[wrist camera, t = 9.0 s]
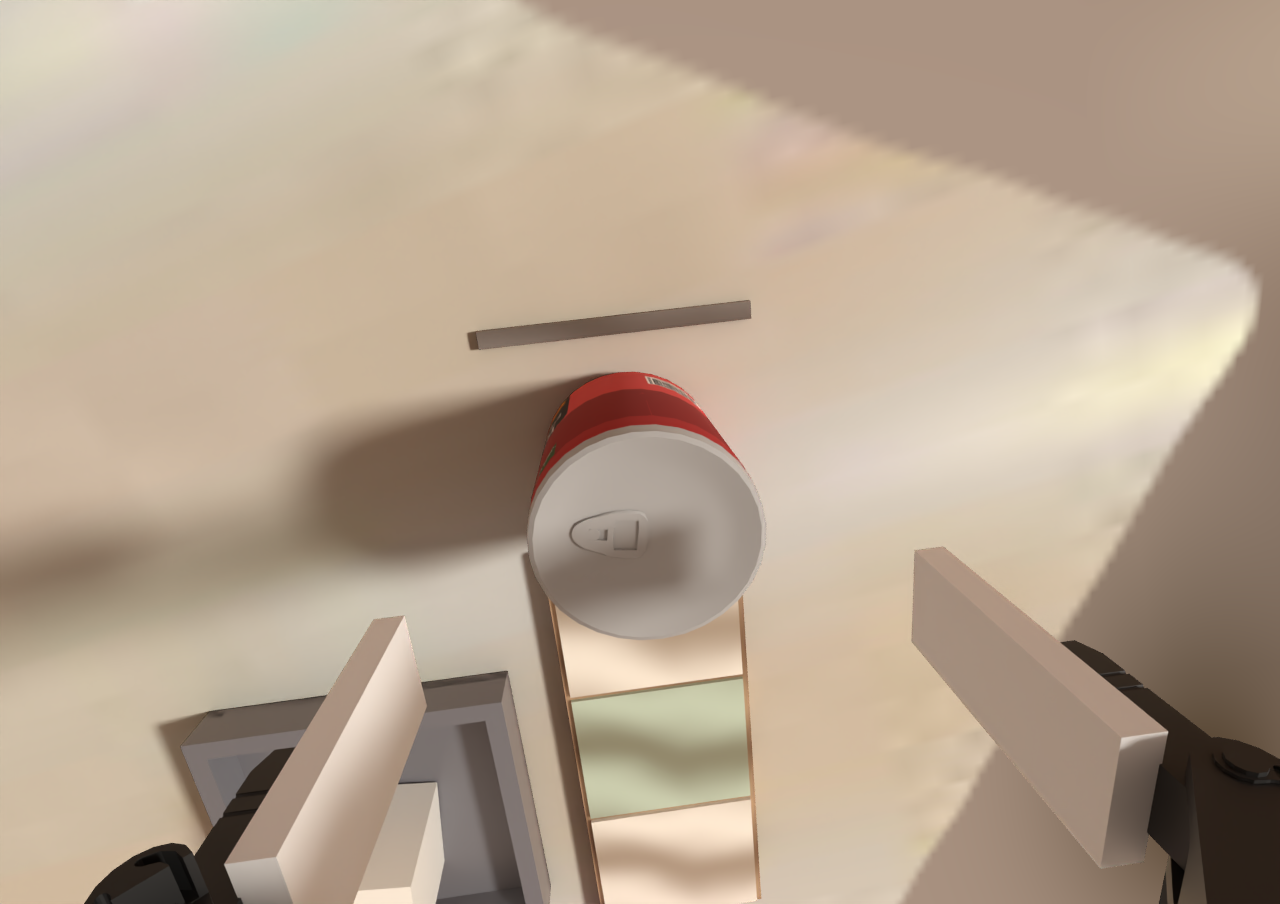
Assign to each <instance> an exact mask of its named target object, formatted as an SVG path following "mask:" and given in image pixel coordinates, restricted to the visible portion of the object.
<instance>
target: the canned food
mask: <svg viewBox="0 0 1280 904" xmlns="http://www.w3.org/2000/svg"><path fill="white" fill-rule="evenodd" d="M527 543H528V553H529V560H530V563H531V566H532V569H533V572H534V575H535V578H536V579H537V581H538V583H539V584H540V586H541V588H542V589H543V591H544V593H545V594H546V596H547V597H548V598H549V599H550V600H551V601H552V602H553V603H554V604H555V605H556V606H557V608H558V609H559V610H560V611H562V612H563V613H564V614H566V615H567V616H568V617H570V618H571V619H573V620H574V621H575V622H577V623H578V624H581V625H583V626H585V627H587V628H589V629H591V630H593V631H596V632H598V633H602V634H605V635H609V636H613V637H616V638H623V639H633V640H652V639H664V638H668V637H673V636H677V635H681V634H685V633H687V632H690V631H692V630H695V629H697V628H700V627H702V626H704V625H706V624H708V623H709V622H711V621H713V620H714V619H716V618H717V617H719V616H721V615H722V614H724V613H725V612H726V611H727V610H728V609H729V608H730V607H731V606H732V605H734V604H735V603H736V602H737V601H738V600H739V599H740V598H741V596H742V595H743V594H744V592H745V591H746V590H747V588H748V587H749V586H750V584H751V583H752V581H753V579H754V577H755V575H756V573H757V571H758V569H759V567H760V565H761V562H762V558H763V554H764V550H765V546H766V520H765V515H764V510H763V505H762V502H761V500H760V497H759V494H758V492H757V490H756V488H755V485H754V483H753V481H752V479H751V477H750V476H749V474H748V473H747V472H746V470H745V468H744V466H743V465H742V464H741V462H740V461H739V460H738V458H737V457H736V456H735V454H734V453H733V452H732V450H731V449H730V448H729V446H728V445H727V443H726V442H725V441H724V439H723V438H722V437H721V435H720V434H719V433H718V431H717V430H716V429H715V427H714V426H713V425H712V423H711V422H710V421H709V419H708V418H707V417H706V415H705V414H704V413H703V411H702V410H701V409H700V407H699V406H698V404H697V403H696V402H695V400H694V399H693V398H692V397H691V396H690V395H689V394H687V393H686V392H685V391H684V390H683V389H682V388H681V387H679V386H677V385H675V384H674V383H672V382H670V381H669V380H667V379H664V378H661V377H658V376H655V375H652V374H646V373H640V372H618V373H614V374H610V375H605V376H601V377H599V378H597V379H594V380H592V381H590V382H588V383H586V384H584V385H583V386H581V387H580V388H579V389H577V390H576V391H574V392H573V393H572V394H571V395H570V396H569V397H568V398H567V399H566V400H565V401H564V402H563V403H562V405H561V406H560V408H559V409H558V411H557V413H556V414H555V416H554V417H553V420H552V423H551V426H550V428H549V431H548V435H547V439H546V443H545V447H544V451H543V454H542V458H541V462H540V466H539V470H538V474H537V478H536V482H535V486H534V490H533V494H532V498H531V505H530V509H529V516H528V524H527Z"/></svg>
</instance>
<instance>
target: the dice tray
mask: <svg viewBox="0 0 1280 904" xmlns="http://www.w3.org/2000/svg"><path fill="white" fill-rule="evenodd" d="M421 684H422V688H423V692H424V696H425V700H426V704H427V707H426V710H425V713H424V715H423V718H422V721H421V723H420V726H419V729H418V731H417V734H416V737H415V739H414V742H413V745H412V748H411V750H410V753H409V756H408V758H407V761H406V764H405V766H404V769H403V772H402V774H401V777H400V780H399V782H398V784H416V783H433V782H437V787H438V798H439V808H440V818H441V829H442V839H443V850H444V860H445V861H444V866H443V870H442V875H441V880H440V885H439V890H438V895H437V899H436V904H550V889H551V884H550V879H549V874H548V869H547V864H546V859H545V854H544V849H543V844H542V839H541V834H540V829H539V825H538V820H537V815H536V810H535V805H534V800H533V795H532V790H531V785H530V780H529V775H528V770H527V765H526V760H525V755H524V750H523V745H522V740H521V735H520V730H519V725H518V720H517V715H516V710H515V705H514V700H513V695H512V690H511V686H510V681H509V676H508V671H504V672H497V673H490V674H482V675H475V676H468V677H460V678H453V679H446V680H438V681H431V682H423V683H421ZM326 697H327V696H320V697H313V698H306V699H298V700H291V701H284V702H276V703H269V704H262V705H254V706H247V707H240V708H232V709H225V710H218V711H210V712H208V714H207V715H206V716H205V717H204V718H203V720H202V721H201V722H200V723H199V724H198V726H197V727H196V728H195V729H194V730H193V732H192V733H191V734H190V735H189V736H188V738H187V739H186V740H185V741H184V742H183V744H182V745H181V746H180V748H181V750H182V752H183V755H184V757H185V760H186V762H187V765H188V767H189V769H190V772H191V774H192V777H193V779H194V782H195V784H196V786H197V789H198V791H199V794H200V796H201V799H202V801H203V803H204V806H205V808H206V811H207V813H208V816H209V818H210V820H211V823H212V825H213V827H214V826H215V824H216V823H217V821H218V820H219V818H222V817H223V812H224V811H225V809H226V808H227V806H228V805H229V803H230V802H231V800H232V799H234V798H235V797H236V793H237V791H238V790H239V788H240V787H241V785H242V784H243V782H244V781H245V779H246V778H247V776H248V775H249V773H250V772H251V771H252V770H253V769H254V768H255V767H256V766H257V765H258V764H259V763H261V762H262V761H263V760H264V759H265V758H266V757H267V756H268V755H269V754H271V753H272V752H273V751H274V750H277V749H284V748H291V747H296V746H297V744H298V742H299V741H300V739H301V738H302V736H303V734H304V733H305V731H306V729H307V728H308V726H309V724H310V723H311V721H312V720H313V718H314V716H315V715H316V713H317V711H318V710H319V708H320V706H321V705H322V703H323V702H324V700H325V698H326Z"/></svg>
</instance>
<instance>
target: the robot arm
mask: <svg viewBox="0 0 1280 904" xmlns="http://www.w3.org/2000/svg"><path fill="white" fill-rule="evenodd" d="M912 643H913V644H914V645H915V646H916V647H917V649H918V650H919V651H920V652H921V653H922V655H923V656H924V657H925V658H926V659H927V661H928V662H929V663H930V664H931V665H932V667H933V668H934V669H935V670H936V672H937V673H938V674H939V675H940V676H941V678H942V679H943V680H944V681H945V682H946V684H947V685H948V686H949V687H950V688H951V690H952V691H953V692H954V693H955V694H956V696H957V697H958V698H959V699H960V700H961V702H962V703H963V704H964V705H965V706H966V708H967V709H968V710H969V711H970V712H971V714H972V715H973V716H974V717H975V718H976V720H977V721H978V722H979V723H980V724H981V726H982V727H983V728H984V729H985V730H986V732H987V733H988V734H989V735H990V736H991V738H992V739H993V740H994V741H995V742H996V744H997V745H998V746H999V747H1000V748H1001V750H1002V751H1003V752H1004V753H1005V754H1006V756H1007V757H1008V758H1009V759H1010V761H1011V762H1012V763H1013V764H1014V765H1015V767H1016V768H1017V769H1018V770H1019V771H1020V772H1021V774H1022V775H1023V776H1024V777H1025V778H1026V780H1027V781H1028V782H1029V783H1030V785H1031V786H1032V787H1033V788H1034V789H1035V791H1036V792H1037V793H1038V794H1039V795H1040V797H1041V798H1042V799H1043V800H1044V801H1045V803H1046V804H1047V805H1048V806H1049V807H1050V809H1051V810H1052V811H1053V812H1054V813H1055V815H1056V816H1057V817H1058V818H1059V819H1060V821H1061V822H1062V823H1063V824H1064V825H1065V827H1066V828H1067V829H1068V830H1069V831H1070V833H1071V834H1072V835H1073V836H1074V837H1075V838H1076V840H1077V841H1078V842H1079V843H1080V844H1081V846H1082V847H1083V848H1084V850H1085V851H1086V852H1087V853H1088V854H1089V856H1090V857H1091V858H1092V859H1093V860H1094V861H1095V863H1096V864H1097V865H1098V866H1099V867H1100V868H1108V867H1115V866H1122V865H1129V864H1135V863H1142V862H1144V858H1145V852H1146V847H1147V842H1148V836H1149V835H1150V836H1151V837H1152V838H1153V839H1154V840H1155V841H1156V842H1157V843H1158V844H1159V845H1160V846H1161V847H1162V848H1163V849H1164V850H1165V851H1166V852H1167V853H1168V854H1169V856H1168V861H1167V866H1166V872H1165V876H1164V881H1163V886H1162V892H1161V896H1160V901H1159V904H1280V759H1278V758H1276V757H1275V756H1273V755H1271V754H1269V753H1267V752H1265V751H1264V750H1262V749H1260V748H1257V747H1254V746H1252V745H1249V744H1246V743H1243V742H1240V741H1237V740H1231V739H1226V738H1220V737H1216V738H1215V737H1213V738H1211V737H1210V736H1209V735H1207V734H1206V733H1205V732H1204V731H1202V730H1201V729H1200V728H1198V727H1197V726H1196V725H1195V724H1193V723H1192V722H1190V721H1189V720H1188V719H1187V718H1185V717H1184V716H1183V715H1182V714H1180V713H1179V712H1178V711H1176V710H1175V709H1174V708H1173V707H1171V706H1170V705H1169V704H1167V703H1166V702H1165V701H1164V700H1162V699H1161V698H1159V697H1158V696H1157V695H1156V694H1154V693H1153V692H1152V691H1151V690H1149V689H1148V688H1144V687H1143V684H1141V683H1140V682H1139V681H1138V680H1136V679H1135V678H1134V677H1133V676H1131V675H1130V674H1126V673H1125V671H1124V670H1123V669H1122V668H1121V667H1120V666H1118V665H1117V664H1116V663H1114V662H1113V661H1112V660H1110V659H1109V658H1108V657H1107V656H1105V655H1104V654H1103V653H1101V652H1098V651H1096V650H1094V649H1092V648H1090V647H1088V646H1086V645H1084V644H1082V643H1079V642H1077V641H1075V640H1074V641H1067V642H1059V641H1058V640H1057V639H1055V638H1054V637H1053V636H1052V635H1050V634H1049V633H1048V632H1047V631H1046V630H1044V629H1043V628H1042V627H1041V626H1039V625H1038V624H1037V623H1036V622H1035V621H1033V620H1032V619H1031V618H1030V617H1029V616H1027V615H1026V614H1025V613H1024V612H1022V611H1021V610H1020V609H1019V608H1018V607H1016V606H1015V605H1014V604H1013V603H1011V602H1010V601H1009V600H1008V599H1007V598H1005V597H1004V596H1003V595H1002V594H1001V593H999V592H998V591H997V590H996V589H994V588H993V587H992V586H991V585H990V584H988V583H987V582H986V581H985V580H983V579H982V578H981V577H980V576H979V575H977V574H976V573H975V572H974V571H973V570H971V569H970V568H969V567H968V566H966V565H965V564H964V563H963V562H962V561H960V560H959V559H958V558H957V557H955V556H954V555H953V554H952V553H951V552H949V551H948V550H947V549H946V548H945V547H936V548H929V549H921V550H915V554H914V584H913V614H912ZM426 707H427V704H426V700H425V696H424V692H423V688H422V684H421V680H420V676H419V672H418V668H417V664H416V660H415V656H414V652H413V648H412V644H411V640H410V636H409V632H408V628H407V624H406V620H405V616H396V617H388V618H381V619H374V620H373V621H372V623H371V625H370V626H369V628H368V629H367V631H366V633H365V634H364V636H363V638H362V639H361V641H360V643H359V644H358V646H357V648H356V649H355V651H354V652H353V654H352V656H351V657H350V659H349V661H348V662H347V664H346V666H345V667H344V669H343V670H342V672H341V674H340V675H339V677H338V679H337V680H336V682H335V684H334V685H333V687H332V688H331V690H330V692H329V693H328V695H327V697H326V698H325V700H324V702H323V703H322V705H321V706H320V708H319V710H318V711H317V713H316V715H315V716H314V718H313V720H312V721H311V723H310V724H309V726H308V728H307V729H306V731H305V733H304V734H303V736H302V738H301V739H300V741H299V742H298V744H297V746H296V747H291V748H284V749H277V750H274V751H273V752H272V753H271V754H269V755H268V756H267V757H266V758H265V759H264V760H263V761H262V762H261V763H259V764H258V765H257V766H256V767H255V768H254V769H253V770H252V771H251V772H250V773H249V775H248V776H247V778H246V779H245V781H244V782H243V784H242V785H241V787H240V788H239V790H238V791H237V793H236V797H235V798H234V799H232V800H231V802H230V803H229V805H228V806H227V808H226V809H225V811H224V812H223V817H222V818H219V820H218V821H217V823H216V824H215V826H214V827H213V829H212V830H211V832H210V833H209V835H208V836H207V838H206V839H205V841H204V842H203V844H202V845H201V847H200V848H199V850H198V851H197V853H196V854H195V856H194V855H193V853H192V852H191V850H190V849H189V848H188V847H187V846H186V845H183V844H176V843H170V844H165V845H161V846H156V847H153V848H151V849H148V850H146V851H144V852H142V853H140V854H138V855H135V856H133V857H132V858H130V859H129V860H127V861H126V862H124V863H123V864H122V865H120V866H119V867H117V868H116V869H114V870H113V871H112V872H111V873H110V874H109V875H108V876H106V877H105V878H104V879H103V880H102V881H101V882H100V883H99V884H98V885H97V886H96V887H95V888H94V890H93V891H92V893H91V894H90V896H89V897H88V899H87V900H86V902H85V903H84V904H353V903H354V900H355V898H356V895H357V892H358V890H359V887H360V884H361V882H362V879H363V876H364V874H365V871H366V868H367V866H368V863H369V860H370V857H371V855H372V852H373V849H374V847H375V844H376V841H377V839H378V836H379V833H380V831H381V828H382V825H383V823H384V820H385V817H386V815H387V812H388V809H389V807H390V804H391V801H392V798H393V796H394V793H395V790H396V788H397V785H398V782H399V780H400V777H401V774H402V772H403V769H404V766H405V764H406V761H407V758H408V756H409V753H410V750H411V748H412V745H413V742H414V739H415V737H416V734H417V731H418V729H419V726H420V723H421V721H422V718H423V715H424V713H425V710H426Z"/></svg>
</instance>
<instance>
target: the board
mask: <svg viewBox="0 0 1280 904" xmlns="http://www.w3.org/2000/svg"><path fill="white" fill-rule="evenodd" d="M742 319H751V303H750V301H749V300H746V301H737V302H728V303H720V304H711V305H702V306H693V307H684V308H676V309H667V310H658V311H649V312H640V313H631V314H623V315H614V316H605V317H596V318H587V319H579V320H570V321H561V322H552V323H543V324H535V325H526V326H517V327H508V328H499V329H491V330H482V331H477V332H476V336H477V342H478V347H479V350H481V349H489V348H498V347H507V346H515V345H524V344H533V343H542V342H550V341H559V340H568V339H576V338H585V337H594V336H603V335H611V334H620V333H629V332H637V331H646V330H655V329H664V328H672V327H681V326H690V325H698V324H707V323H716V322H725V321H733V320H742ZM548 599H549V598H548ZM549 605H550V611H551V617H552V623H553V628H554V634H555V640H556V646H557V652H558V658H559V664H560V670H561V675H562V681H563V687H564V693H565V699H566V705H567V711H568V717H569V722H570V728H571V734H572V740H573V746H574V752H575V758H576V764H577V770H578V775H579V781H580V787H581V793H582V799H583V805H584V811H585V817H586V822H587V828H588V834H589V840H590V846H591V852H592V858H593V864H594V869H595V875H596V881H597V887H598V893H599V899H600V904H739V903H746V902H752V901H757V899H761V889H760V873H759V856H758V840H757V823H756V807H755V790H754V774H753V757H752V740H751V724H750V707H749V691H748V674H747V658H746V641H745V625H744V608H743V595H742V596H741V598H740V599H739V600H738V601H737V602H736V603H735V604H734V605H732V606H731V607H730V608H729V609H728V610H727V611H726V612H725V613H724V614H722V615H721V616H719V617H717V618H716V619H714V620H713V621H711V622H709V623H708V624H706V625H704V626H702V627H700V628H697V629H695V630H692V631H690V632H687V633H685V634H681V635H677V636H673V637H668V638H664V639H652V640H633V639H623V638H616V637H613V636H609V635H605V634H602V633H598V632H596V631H593V630H591V629H589V628H587V627H585V626H583V625H581V624H578V623H577V622H575V621H574V620H573V619H571V618H570V617H568V616H567V615H566V614H564V613H563V612H562V611H560V610H559V609H558V608H557V606H556V605H555V604H554V603H553V602H552V601H551V600H550V599H549Z"/></svg>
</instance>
